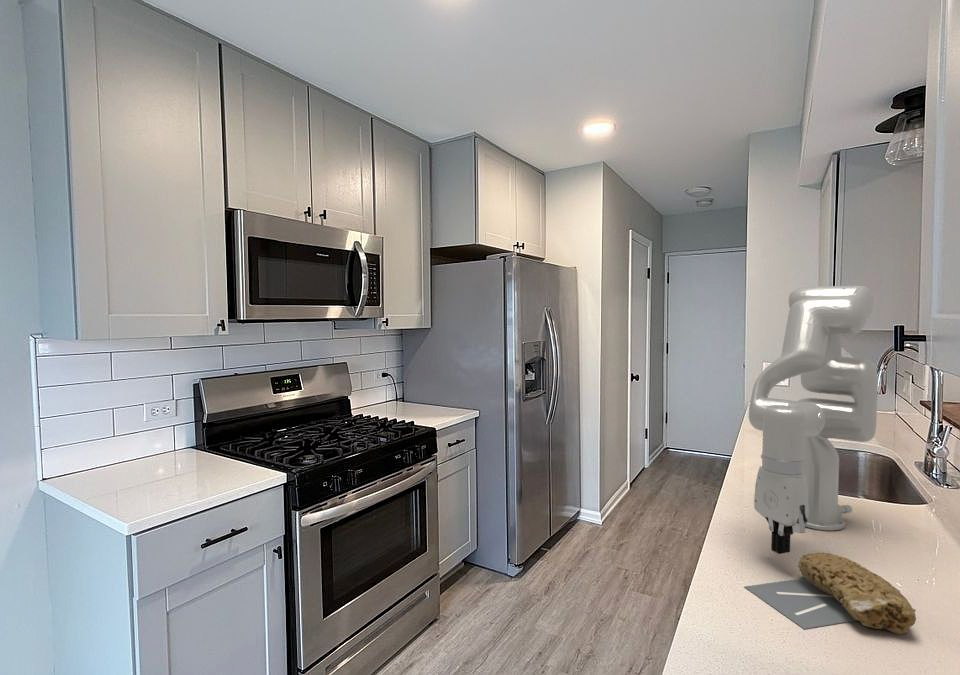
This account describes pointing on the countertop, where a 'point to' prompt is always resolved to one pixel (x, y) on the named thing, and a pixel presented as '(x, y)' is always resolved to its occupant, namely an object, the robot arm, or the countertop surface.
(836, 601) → the mat
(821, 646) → the countertop surface
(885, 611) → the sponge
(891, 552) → the countertop surface
